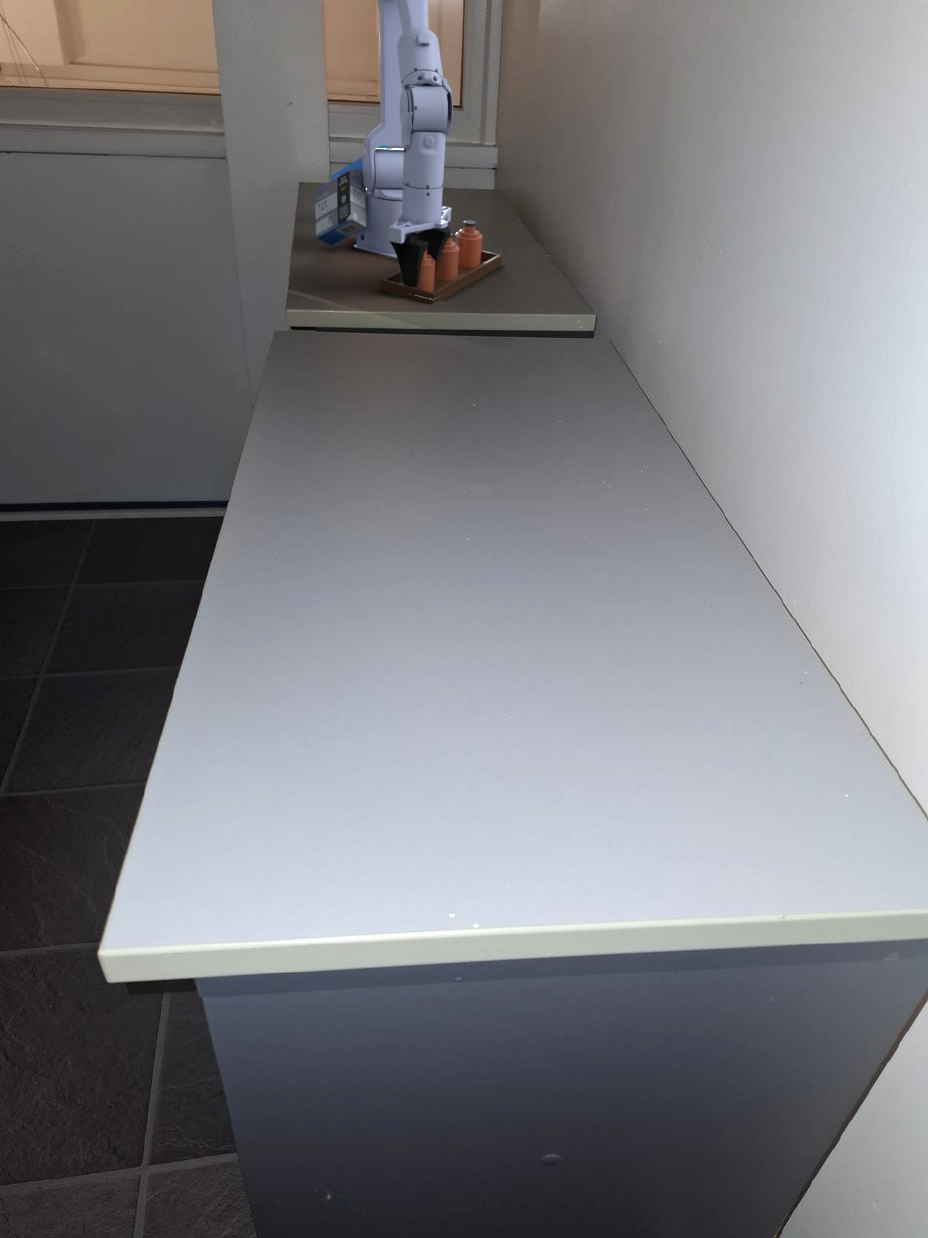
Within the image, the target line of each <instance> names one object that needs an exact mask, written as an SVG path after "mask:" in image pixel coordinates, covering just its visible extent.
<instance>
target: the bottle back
mask: <svg viewBox="0 0 928 1238" xmlns="http://www.w3.org/2000/svg"><path fill="white" fill-rule="evenodd" d="M463 226H464V227H463V228H461V229H460V230H459V231H457V232H456V233H455V241H454V242H455V243H456V245H457V246H458V247H459V262H458V266H460V267H464V268H475V267H477V266H479V265H480V262H481V251H482V250H483V239H484V238H483V235H482V234H481V233H480V231H479V230H477V229H476V227H477V221H475V220H469V219H468V220H464V221H463Z"/></svg>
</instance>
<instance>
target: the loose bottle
mask: <svg viewBox="0 0 928 1238" xmlns="http://www.w3.org/2000/svg"><path fill="white" fill-rule="evenodd" d="M427 250H428V246H427V248H426V250H425V253H424V256H423V259H422V264H421V270H420V278H419V283H418V286H417V287H416V288H419V289H422V290H426V291H430V292H433V291H434V277H435V260H434V259H433V258H432V257H431V255H429V254H427Z"/></svg>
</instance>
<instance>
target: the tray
mask: <svg viewBox="0 0 928 1238" xmlns="http://www.w3.org/2000/svg"><path fill="white" fill-rule="evenodd" d="M502 261H503V255H502V254H499V253H496V252H492V251H487V250H484V249H482V251H481V262H480V265H479V266H477V267H475V268H464V267H460V266H458V277H457V278H456V279H454V280H452V281H440V280H436V279H434V291H433V292H430V291H426V290H422V289H419V288H415V287H411V286H408V285H404V283H403V279H402V274H401V269H398V270H397V271H394V272H393V273H390V274H389V275H386V276H385V277H383V278H381V279H380V280H379V281H380V283H379V284H380V291H382V292H386V293H390V294H393V295H397V296H400V297H405V298H408V299H412V300H416V301H419V302H423V303H426V304H430V305H434V304H436V303H438V302H440V301H441V300H443V299H445V298H446V297H448V296H450V295H452V294H454V293H455V292H457V291H458V290H460V289H462V288H464V287H465V286H467V285H468V284H470V283H472V282H474V281H476V280H477V279H479V278H481V277H483V276H484V275H486V274H488V273H490V272H491V271H493V270H495V269H496V268H498V267H500V266H502ZM410 294H411V295H410ZM414 295H419V296H423V297H427V298H432V299H434V298H437V297H439V296H440V297H439V298H437V299H435V300H433V301H432V300H429V299H425V298H421V297H418V296H414ZM441 295H442V296H441Z"/></svg>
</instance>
